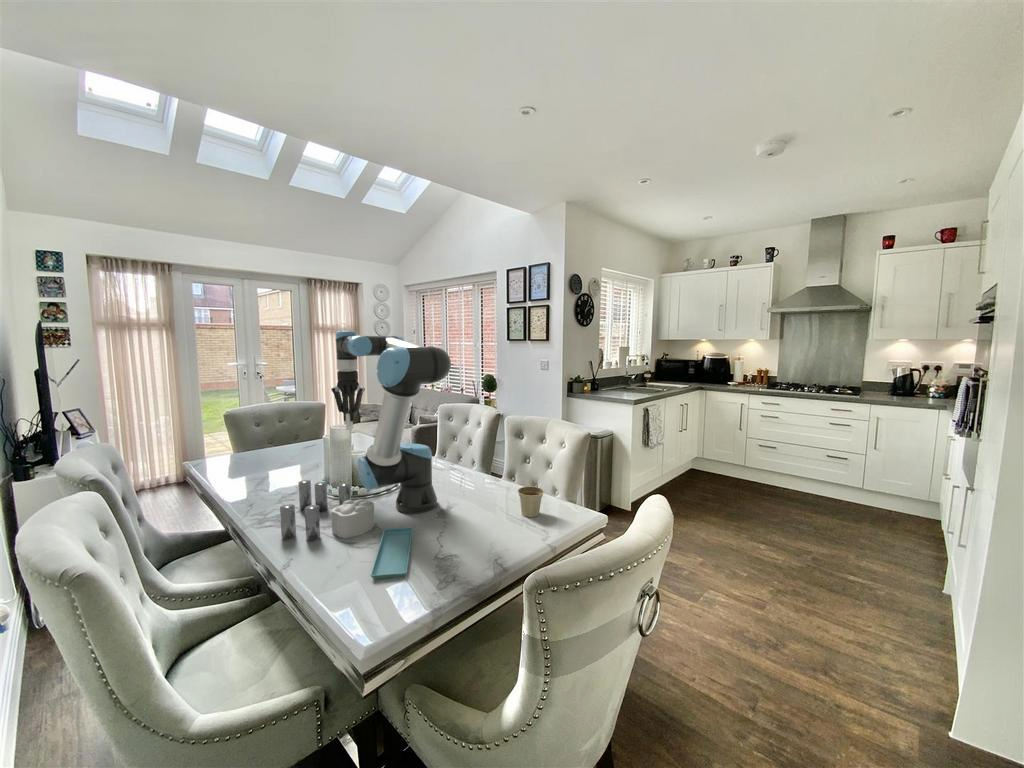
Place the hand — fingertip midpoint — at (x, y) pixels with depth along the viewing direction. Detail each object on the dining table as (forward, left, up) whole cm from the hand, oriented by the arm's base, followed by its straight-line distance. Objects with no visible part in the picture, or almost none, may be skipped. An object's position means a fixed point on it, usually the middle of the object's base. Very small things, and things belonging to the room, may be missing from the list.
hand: (349, 429), depth 165 cm
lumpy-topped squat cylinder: (-16, +30, -27) cm, 43 cm away
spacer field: (+2, +27, -26) cm, 38 cm away
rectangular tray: (-35, +46, -27) cm, 64 cm away
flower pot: (-73, +14, -27) cm, 79 cm away
